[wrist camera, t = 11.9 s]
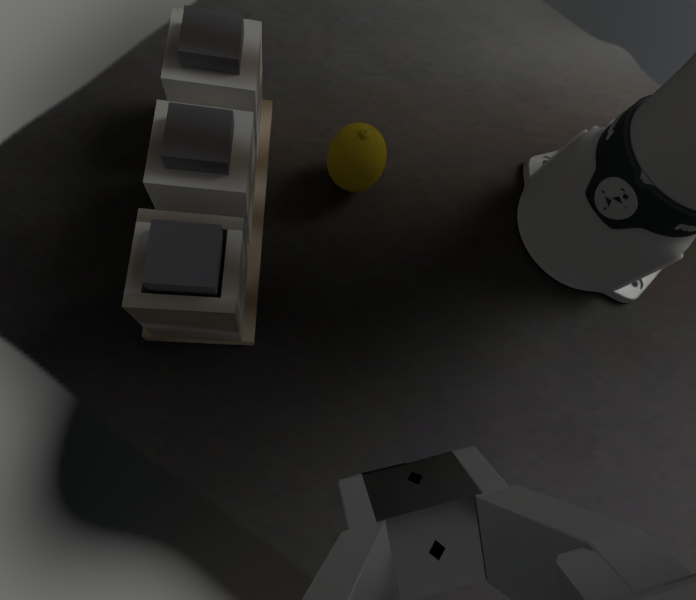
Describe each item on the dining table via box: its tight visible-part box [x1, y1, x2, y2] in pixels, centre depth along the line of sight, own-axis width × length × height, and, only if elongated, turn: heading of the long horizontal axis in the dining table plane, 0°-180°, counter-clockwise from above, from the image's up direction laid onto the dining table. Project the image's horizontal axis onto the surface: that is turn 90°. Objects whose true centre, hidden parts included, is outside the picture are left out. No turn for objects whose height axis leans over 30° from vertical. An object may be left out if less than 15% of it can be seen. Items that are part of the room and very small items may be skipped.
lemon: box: [327, 122, 386, 192], centre depth 42 cm, size 6×6×8 cm
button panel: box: [122, 5, 272, 346], centre depth 37 cm, size 25×9×12 cm, turn 179°
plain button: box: [141, 219, 226, 298], centre depth 32 cm, size 4×4×6 cm
